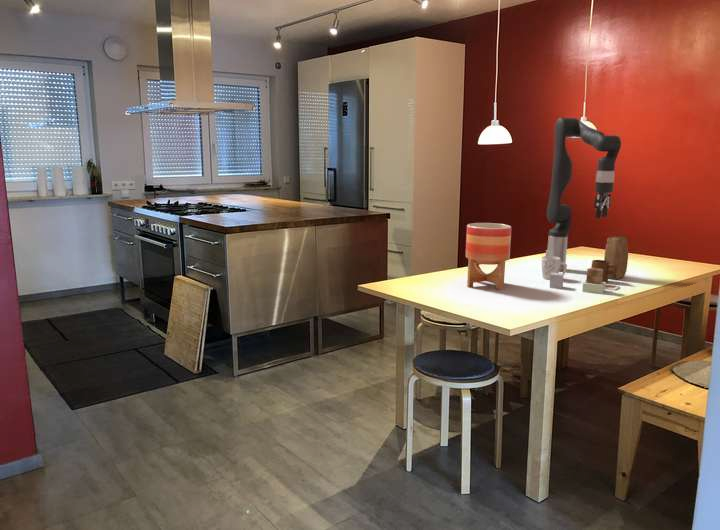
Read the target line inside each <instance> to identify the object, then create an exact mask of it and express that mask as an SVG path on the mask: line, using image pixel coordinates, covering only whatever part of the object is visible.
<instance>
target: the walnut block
mask: <svg viewBox="0 0 720 530" xmlns="http://www.w3.org/2000/svg"><path fill="white" fill-rule="evenodd" d="M602 279H603V269H599V268H591V267H589V268H587V269H586V280H585V281H586V283H591V284H597V285H598V284H600V283H602Z"/></svg>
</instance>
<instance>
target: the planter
mask: <svg viewBox="0 0 720 530" xmlns="http://www.w3.org/2000/svg"><path fill="white" fill-rule="evenodd" d="M465 237H466V240H465V258H466V259H468V260H467V261H468V262H467V263H468V265H467V282H466V283H467V284H466V285H467V286H466V287H467V288H473V287H474V283H481V282H487V283H490V284H493V285H495V286H496V287H495V289H496V290H499V291H502V290H503V284H504V283H505V274H506V262H507V261H509V260H510V259H511V257H510V256H511V243H512V242H511V240H512V226H511V225H508V224H504V223H495V222H494V223H493V222H474V223H468V224H467V225H466V236H465ZM480 265H492V266H494V265H496V266H495V268H494V270H492V271H491V272H489V273H485V272H484V271H483V270H482V269H481V267H480Z"/></svg>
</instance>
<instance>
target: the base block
mask: <svg viewBox="0 0 720 530" xmlns="http://www.w3.org/2000/svg"><path fill="white" fill-rule="evenodd" d="M605 284H606V282H602V283H600V284H598V285H597V284H591V283H586V280H584V282H583V283H582V291H581V292H582V293H583V292H584V293H589V294H597V295H598V294H599V295H600V294H601V295H603V294H604V292H605V290H606V289H605Z"/></svg>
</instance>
